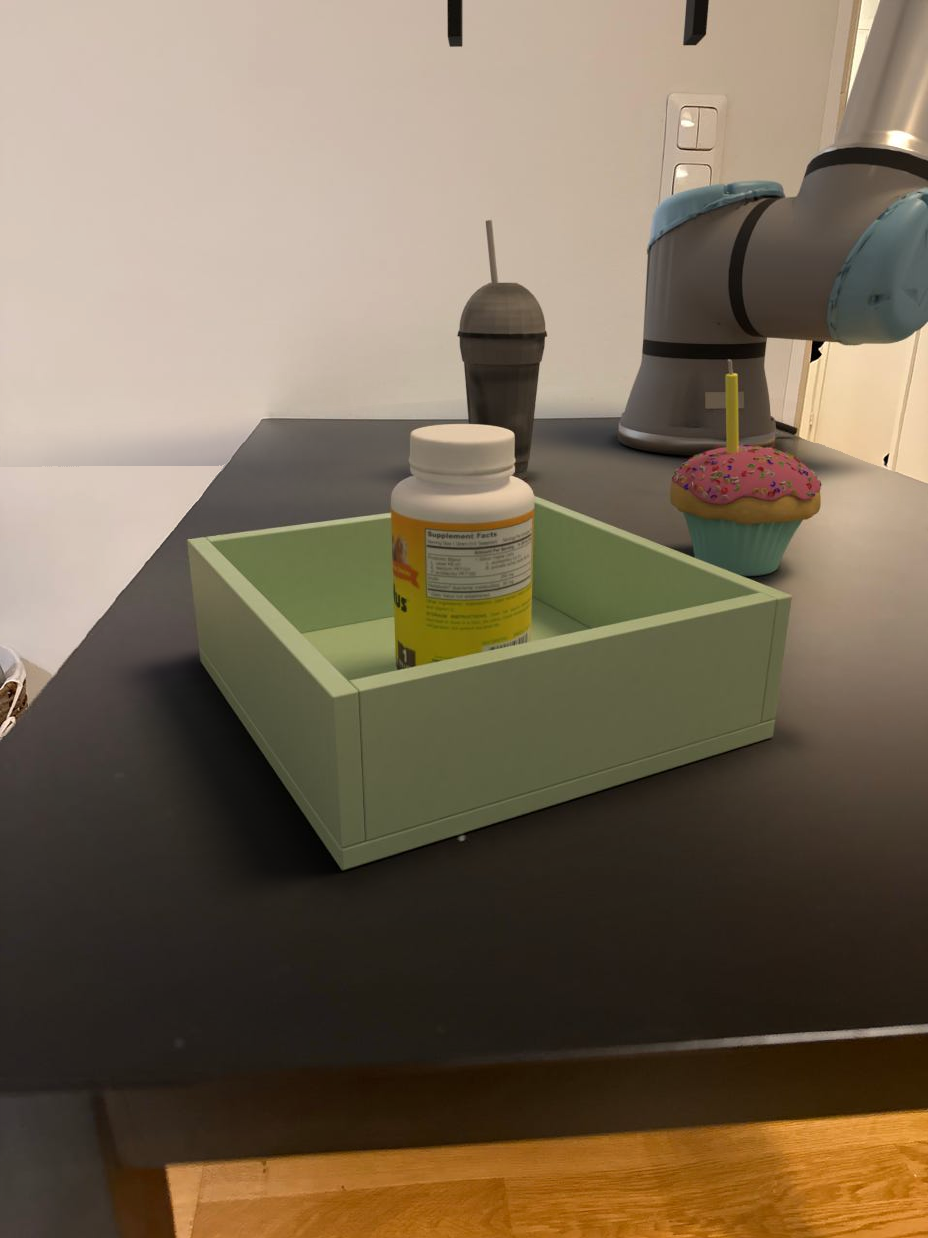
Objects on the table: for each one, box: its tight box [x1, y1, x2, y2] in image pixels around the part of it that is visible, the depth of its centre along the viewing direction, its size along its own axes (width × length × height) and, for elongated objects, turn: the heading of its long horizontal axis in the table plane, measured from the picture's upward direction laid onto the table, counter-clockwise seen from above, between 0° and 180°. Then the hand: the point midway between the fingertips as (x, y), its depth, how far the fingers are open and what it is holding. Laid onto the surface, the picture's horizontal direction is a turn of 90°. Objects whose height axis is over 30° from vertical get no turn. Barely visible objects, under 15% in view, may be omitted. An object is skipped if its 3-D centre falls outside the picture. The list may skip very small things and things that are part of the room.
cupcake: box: [669, 360, 822, 577], centre depth 53 cm, size 9×8×12 cm
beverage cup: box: [456, 219, 548, 481], centre depth 75 cm, size 7×7×20 cm
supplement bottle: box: [390, 423, 535, 670], centre depth 36 cm, size 6×6×10 cm
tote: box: [186, 495, 793, 871], centre depth 38 cm, size 18×18×6 cm
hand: (574, 41), depth 53 cm, fingers open, 13 cm apart
